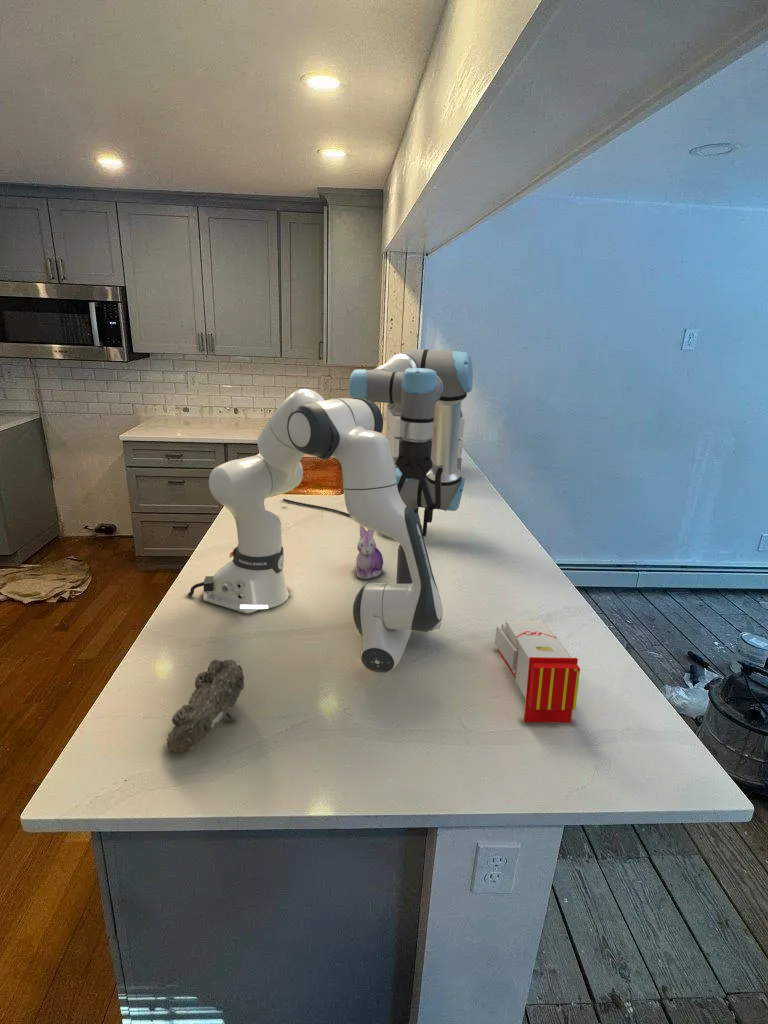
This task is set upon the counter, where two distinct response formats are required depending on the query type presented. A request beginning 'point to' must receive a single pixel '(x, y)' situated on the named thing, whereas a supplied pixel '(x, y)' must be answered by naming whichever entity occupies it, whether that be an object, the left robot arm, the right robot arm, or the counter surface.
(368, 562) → the figurine
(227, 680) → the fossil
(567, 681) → the toy
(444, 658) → the counter surface
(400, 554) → the bottle
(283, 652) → the counter surface
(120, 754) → the counter surface
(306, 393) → the left robot arm
